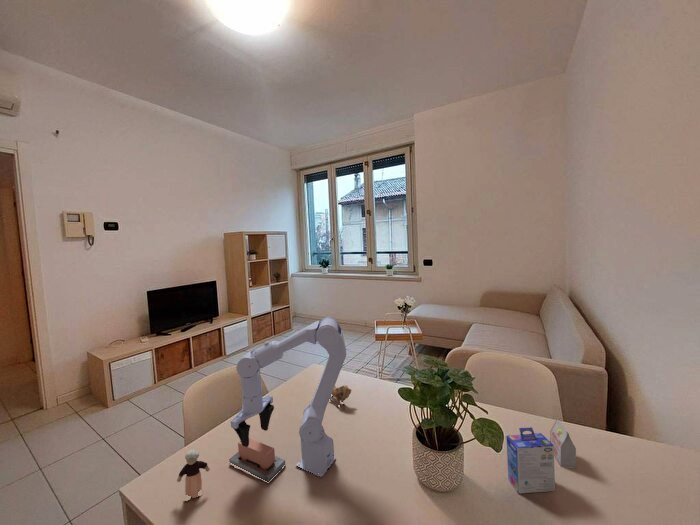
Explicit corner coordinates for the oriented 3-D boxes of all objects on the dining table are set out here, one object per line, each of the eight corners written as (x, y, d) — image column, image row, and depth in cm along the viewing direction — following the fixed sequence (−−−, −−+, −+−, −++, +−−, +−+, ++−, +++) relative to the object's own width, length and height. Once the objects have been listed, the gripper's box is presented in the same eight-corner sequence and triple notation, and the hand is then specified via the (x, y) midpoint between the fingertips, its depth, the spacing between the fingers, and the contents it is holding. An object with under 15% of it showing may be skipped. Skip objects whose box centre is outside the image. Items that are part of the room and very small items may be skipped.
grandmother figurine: (179, 508, 73) (175, 461, 72) (178, 498, 76) (174, 453, 75) (212, 492, 77) (208, 447, 76) (209, 482, 80) (206, 440, 80)
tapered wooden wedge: (275, 469, 84) (274, 448, 84) (268, 476, 82) (266, 454, 81) (247, 456, 90) (245, 436, 90) (239, 463, 87) (237, 442, 87)
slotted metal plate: (285, 466, 85) (285, 459, 85) (268, 484, 79) (268, 477, 79) (247, 450, 93) (247, 444, 93) (229, 465, 87) (229, 459, 86)
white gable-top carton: (564, 451, 86) (564, 419, 85) (575, 468, 79) (575, 434, 79) (550, 449, 87) (550, 418, 86) (560, 466, 80) (560, 432, 80)
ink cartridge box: (541, 474, 78) (541, 423, 77) (556, 491, 72) (556, 437, 71) (505, 476, 78) (505, 426, 77) (518, 494, 72) (517, 440, 71)
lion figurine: (354, 406, 115) (353, 384, 115) (345, 412, 111) (343, 390, 111) (329, 394, 125) (328, 374, 125) (320, 399, 121) (319, 379, 121)
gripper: (260, 380, 93) (263, 420, 94) (221, 403, 80) (225, 449, 81) (276, 384, 89) (279, 425, 90) (239, 408, 77) (243, 456, 77)
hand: (255, 437), depth 85 cm, fingers open, 7 cm apart
